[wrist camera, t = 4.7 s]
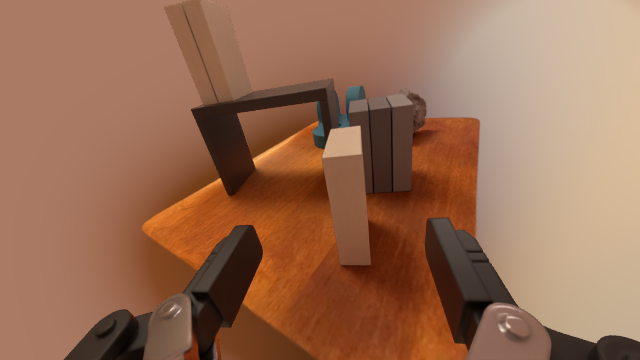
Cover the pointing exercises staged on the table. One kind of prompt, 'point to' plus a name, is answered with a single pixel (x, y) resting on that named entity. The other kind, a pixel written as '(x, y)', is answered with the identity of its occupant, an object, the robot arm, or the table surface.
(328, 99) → the shelf
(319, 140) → the bracket
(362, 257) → the beige rectangular block
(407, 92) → the stone
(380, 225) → the table surface
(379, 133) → the grey books
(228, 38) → the white books
